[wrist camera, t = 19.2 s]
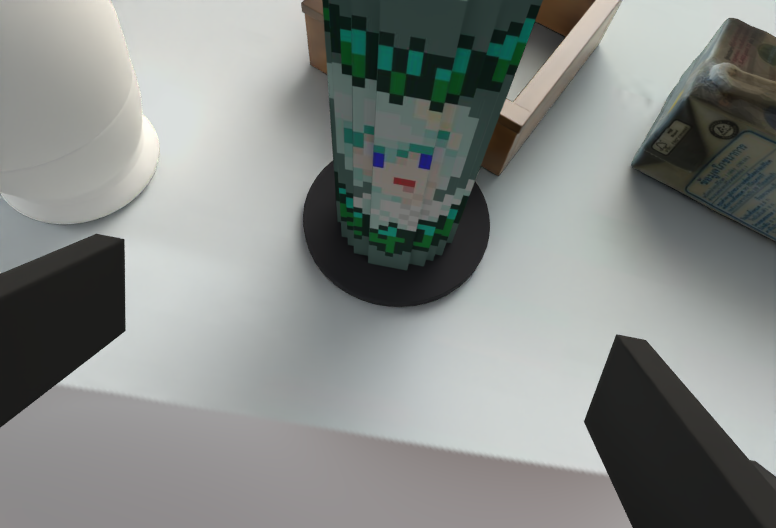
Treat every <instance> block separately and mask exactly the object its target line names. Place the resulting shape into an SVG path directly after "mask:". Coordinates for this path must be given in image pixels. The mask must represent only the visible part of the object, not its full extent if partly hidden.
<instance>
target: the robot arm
mask: <svg viewBox="0 0 776 528" xmlns="http://www.w3.org/2000/svg"><path fill="white" fill-rule="evenodd" d="M123 332H125V251H124V239H120V238H115V237H110V236H105V235H100V234H95V235H93V236H90V237H88V238H85V239H83V240H81V241H78V242H76V243H73V244H71V245H69V246H66V247H64V248H61V249H59V250H57V251H54V252H52V253H49V254H47V255H45V256H42V257H40V258H37V259H35V260H33V261H30V262H28V263H25V264H23V265H21V266H18V267H16V268H13V269H11V270H9V271H6V272H4V273H1V274H0V427H1V426H3V425H4V424H5V423H7V422H8V421H9V420H11V419H12V418H13V417H15V416H16V415H17V414H18V413H20V412H21V411H22V410H23V409H25V408H26V407H28V406H29V405H30V404H31V403H33V402H34V401H35V400H37V399H38V398H39V397H40V396H42V395H43V394H44V393H45V392H47V391H48V390H49V389H51V388H52V387H53V386H55V385H56V384H57V383H59V382H60V381H61V380H63V379H64V378H65V377H66V376H68V375H69V374H70V373H72V372H73V371H74V370H75V369H77V368H78V367H79V366H81V365H82V364H83V363H85V362H86V361H87V360H88V359H90V358H91V357H92V356H94V355H95V354H96V353H97V352H99V351H100V350H101V349H103V348H104V347H105V346H107V345H108V344H109V343H110V342H112V341H113V340H114V339H116V338H117V337H118V336H119V335H121V334H122V333H123ZM584 423H585V425H586V427H587V429H588V432H589V434H590V436H591V438H592V440H593V442H594V445H595V447H596V449H597V451H598V453H599V455H600V458H601V460H602V462H603V464H604V466H605V468H606V471H607V473H608V475H609V477H610V479H611V481H612V484H613V486H614V488H615V490H616V492H617V494H618V497H619V499H620V501H621V503H622V505H623V507H624V510H625V512H626V514H627V516H628V518H629V521H630V523H631V525H632V527H633V528H776V477H775V476H774V475H773V474H771V473H770V472H769V471H768V470H766V469H765V468H764V467H762V466H761V465H760V464H758V463H757V462H756V461H751V460H749V459H748V458H747V457H746V456H745V454H744V453H743V452H742V451H741V450H740V449H739V447H738V446H737V445H736V444H735V443H734V442H733V440H732V439H731V438H730V437H729V436H728V435H727V434H726V432H725V431H724V430H723V429H722V428H721V427H720V425H719V424H718V423H717V422H716V421H715V420H714V418H713V417H712V416H711V415H710V414H709V413H708V411H707V410H706V409H705V408H704V407H703V406H702V405H701V403H700V402H699V401H698V400H697V399H696V398H695V396H694V395H693V394H692V393H691V392H690V391H689V389H688V388H687V387H686V386H685V385H684V384H683V383H682V381H681V380H680V379H679V378H678V377H677V376H676V374H675V373H674V372H673V371H672V370H671V369H670V367H669V366H668V365H667V364H666V363H665V362H664V361H663V359H662V358H661V357H660V356H659V355H658V354H657V352H656V351H655V350H654V349H653V348H652V347H651V345H650V344H649V343H648V342H647V341H646V340H643V339H637V338H632V337H627V336H622V335H617V334H616V337H615V340H614V342H613V345H612V348H611V350H610V353H609V356H608V358H607V361H606V364H605V366H604V369H603V372H602V375H601V377H600V380H599V383H598V385H597V388H596V391H595V393H594V396H593V399H592V402H591V404H590V407H589V410H588V412H587V415H586V418H585V420H584Z"/></svg>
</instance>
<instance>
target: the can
mask: <svg viewBox="0 0 776 528" xmlns="http://www.w3.org/2000/svg"><path fill="white" fill-rule="evenodd" d="M542 1H543V0H322V3H323V18H324V32H325V47H326V61H327V76H328V90H329V105H330V119H331V133H332V148H333V162H334V177H335V191H336V206H337V220H338V222H341V232H342V237H347V238H348V245H351V246H354V253H356V254H361V255H366V256H368V263H370V264H375V265H380V266H386V267H391V268H396V269H401V270H407V269H408V264H414V265H419V266H424V265H425V262H426V260H431V261H433V259H434V256H435V254H437V255H442V254H443V251H444V248H445V245H446V242H447V243H452V241H453V238H454V235H455V233H456V230H457V227H458V225H459V222H460V219H461V217H462V214H463V211H464V209H465V206H466V203H467V201H468V198H469V195H470V193H471V190H472V187H473V185H474V182H475V179H476V177H477V174H478V172H479V169H480V166H481V164H482V161H483V158H484V156H485V153H486V150H487V148H488V145H489V142H490V140H491V137H492V134H493V132H494V129H495V126H496V124H497V121H498V118H499V116H500V113H501V110H502V108H503V105H504V102H505V100H506V97H507V94H508V92H509V89H510V86H511V84H512V81H513V78H514V76H515V73H516V70H517V68H518V65H519V62H520V60H521V57H522V54H523V52H524V49H525V46H526V44H527V41H528V38H529V36H530V33H531V31H532V28H533V25H534V23H535V20H536V17H537V15H538V12H539V9H540V7H541V4H542Z"/></svg>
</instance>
